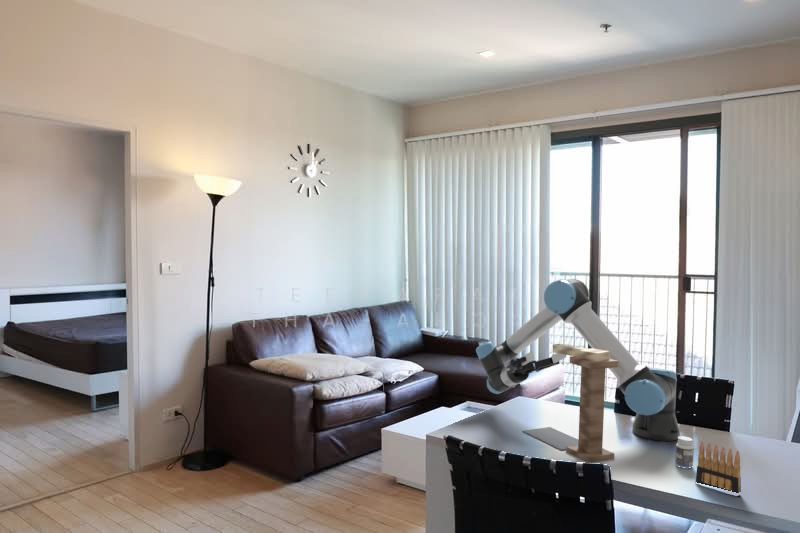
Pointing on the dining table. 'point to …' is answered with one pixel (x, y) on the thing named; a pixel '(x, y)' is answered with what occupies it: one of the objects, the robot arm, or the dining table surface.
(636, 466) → the dining table surface
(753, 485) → the dining table surface
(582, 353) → the paddle
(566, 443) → the mat
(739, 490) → the ammunition clip
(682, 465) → the pill bottle
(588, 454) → the stand
